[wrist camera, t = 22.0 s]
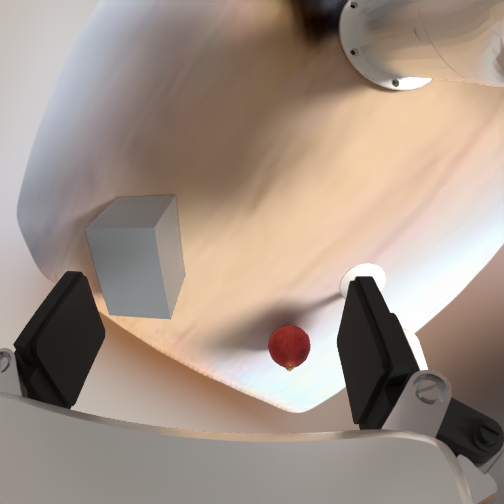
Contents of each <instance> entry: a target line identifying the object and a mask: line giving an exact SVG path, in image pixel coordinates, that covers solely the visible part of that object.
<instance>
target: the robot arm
mask: <svg viewBox="0 0 504 504" xmlns="http://www.w3.org/2000/svg"><path fill="white" fill-rule="evenodd" d="M351 5H353V6H354V9H353V8H352V7H351ZM339 37H340V42H341V45H342V47H343V50H344V53H345V54H346V56H347V58H348V59H349V61H350V63H351V64H352V65H353V66H354V67H355V68H356V70H357V71H358V72H359V73H361V74H362V75H363V76H364V77H365V78H367V79H368V80H370V81H371V82H373V83H375V84H377V85H379V86H382V87H384V88H388V89H393V90H401V91H404V90H413V89H417V88H420V87H422V86H424V85H426V84H427V83H429V82H430V81H431V80H432V79H438V80H448V81H457V82H465V83H472V84H479V85H485V86H492V87H504V0H348V1H347V2H346V4H345V5H344V7H343V9H342V11H341V13H340V18H339ZM351 51H354V55H352V54H351ZM392 81H394V85H392ZM104 338H105V328H104V326H103V323H102V320H101V318H100V315H99V312H98V309H97V307H96V304H95V301H94V298H93V295H92V292H91V289H90V286H89V283H88V280H87V277H86V276H84V275H83V273H82V272H77V271H67V272H66V273H65V274H64V275H63V276H62V278H61V279H60V280H59V282H58V283H57V284H56V285H55V287H54V288H53V289H52V291H51V292H50V293H49V295H48V296H47V297H46V299H45V300H44V301H43V303H42V304H41V305H40V307H39V308H38V310H37V311H36V312H35V314H34V315H33V316H32V318H31V319H30V321H29V322H28V324H27V325H26V326H25V328H24V329H23V331H22V332H21V334H20V335H19V337H18V338H17V340H16V341H15V343H14V344H13V345H14V347H15V349H16V351H15V352H14V353H13V352H12V351H11V350H10V349H7V348H3V349H0V504H504V433H503V430H502V428H501V427H500V425H499V424H498V423H497V422H496V421H494V420H493V419H491V418H489V417H487V416H485V415H484V414H481V413H480V412H478V411H476V410H474V409H472V408H470V407H468V406H467V405H465V404H463V403H461V402H459V401H457V400H455V399H453V398H452V397H451V395H452V389H451V385H450V383H449V382H448V380H447V379H446V378H445V377H444V376H443V375H441V374H440V373H438V372H436V371H432V370H421V371H420V368H419V366H418V363H417V361H416V359H415V356H414V354H413V352H412V349H411V347H410V345H409V342H408V340H407V338H406V336H405V333H404V331H403V329H402V327H401V324H400V322H399V320H398V318H397V316H396V315H395V314H394V313H390V311H389V309H388V307H387V305H386V303H385V301H384V298H383V296H382V294H381V292H380V290H379V288H378V286H377V284H376V282H375V280H374V278H373V276H356V277H355V280H351V281H350V282H349V286H348V291H347V296H346V301H345V306H344V310H343V315H342V319H341V323H340V328H339V332H338V336H337V348H338V352H339V356H340V361H341V365H342V369H343V374H344V379H345V383H346V388H347V392H348V397H349V402H350V407H351V412H352V417H353V422H354V424H359V428H360V430H354V431H337V432H321V433H291V434H248V433H245V434H244V433H223V432H208V431H207V432H206V431H195V430H184V429H175V428H166V427H159V426H151V425H145V424H138V423H132V422H126V421H120V420H115V419H110V418H105V417H100V416H96V415H91V414H87V413H82V412H78V411H74V410H70V408H71V406H74V405H75V403H76V401H77V398H78V396H79V394H80V391H81V389H82V387H83V385H84V382H85V380H86V378H87V375H88V373H89V371H90V369H91V366H92V364H93V362H94V360H95V357H96V356H97V353H98V351H99V349H100V347H101V345H102V343H103V340H104Z"/></svg>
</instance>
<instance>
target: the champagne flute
mask: <svg viewBox="0 0 504 504" xmlns="http://www.w3.org/2000/svg"><path fill="white" fill-rule="evenodd" d="M356 276H373V278H374V280H375V282H376V284H377V286H378V288H379V290H380V292H381V291H382V289H383V287H384V285H385V274H384V272H383V270H382V269H381V268H380V267H378V266H377V265H374V264H361V265H358V266H355V267H354V268H352V269H350V270H349V271H348V272H347V273H346V274H345V275H344V277H343V278H342V281H341V284H340V291H341V294H342V296H343V297H344V298H345V299H346V296H347V291H348V286H349V282H350V281H351V280H355V277H356ZM402 329H403V328H402ZM403 331H404V333H405V336H406V338H407V340H408V342H409V345H410V347H411V349H412V352H413V354H414V356H415V359H416V361H417V363H418V366H419V368H420V371H421V370H428V368H427V365H426V362H425V358H424V355H423V352H422V349H421V346H420V343H419V340H418V338H417V337H416V336H415V335H414V334H413V333H412V332H410V331H408V330H406V329H403Z"/></svg>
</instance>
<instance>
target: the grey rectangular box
mask: <svg viewBox="0 0 504 504" xmlns="http://www.w3.org/2000/svg"><path fill="white" fill-rule="evenodd" d="M85 233H86V237H87V241H88V245H89V248H90V252H91V256H92V260H93V263H94V267H95V270H96V274H97V277H98V280H99V284H100V287H101V290H102V293H103V296H104V300H105V303H106V306H107V309H108V312H109V315H117V316H129V317H144V318H160V319H171V317H172V314H173V311H174V308H175V305H176V301H177V298H178V295H179V292H180V289H181V286H182V283H183V280H184V277H185V268H184V261H183V253H182V245H181V237H180V228H179V219H178V210H177V201H176V195H150V196H127V197H116V198H115V199H114V200H113V201H112V202H111V203H110V204H109V205H108V206H107V207H106V208H105V209H104V210H103V211H102V212H101V213H100V214H99V215H98V216H97V217H96V218H95V219H94V220H93V221H92V222H91V223H90V224H89V225H88V226H87V227H86V228H85Z"/></svg>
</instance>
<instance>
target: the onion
mask: <svg viewBox="0 0 504 504" xmlns="http://www.w3.org/2000/svg"><path fill="white" fill-rule="evenodd" d="M268 349H269V352H270V355H271V357H272V359H273V360H274V361H275V362H276V363H277V364H279V365H280V366H283V367H285V368H286V369H287V370H289V371H291V370H292V369H293V368H295V367H297V366H299V365H300V364H302V363H303V362H304V361H305V360H306V359H307V356H308V354H309V351H310V340H309V337H308V335H307V334H306V333H305V332H304V330H302V329H301V328H299V327H296V326H283V327H281V328H279V329H277V330H276V331H275V332H274V333H273V334H272V335H271V337H270V339H269V344H268Z"/></svg>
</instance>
